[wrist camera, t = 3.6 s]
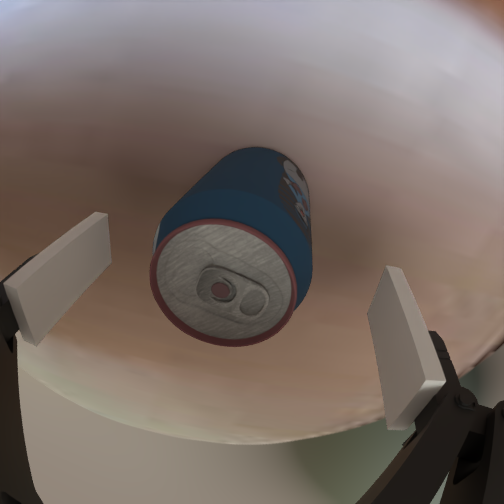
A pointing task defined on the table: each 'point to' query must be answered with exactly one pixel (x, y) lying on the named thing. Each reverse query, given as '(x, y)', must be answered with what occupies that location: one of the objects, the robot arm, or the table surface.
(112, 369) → the table surface
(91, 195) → the table surface
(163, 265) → the soda can
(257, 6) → the table surface
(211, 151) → the table surface
